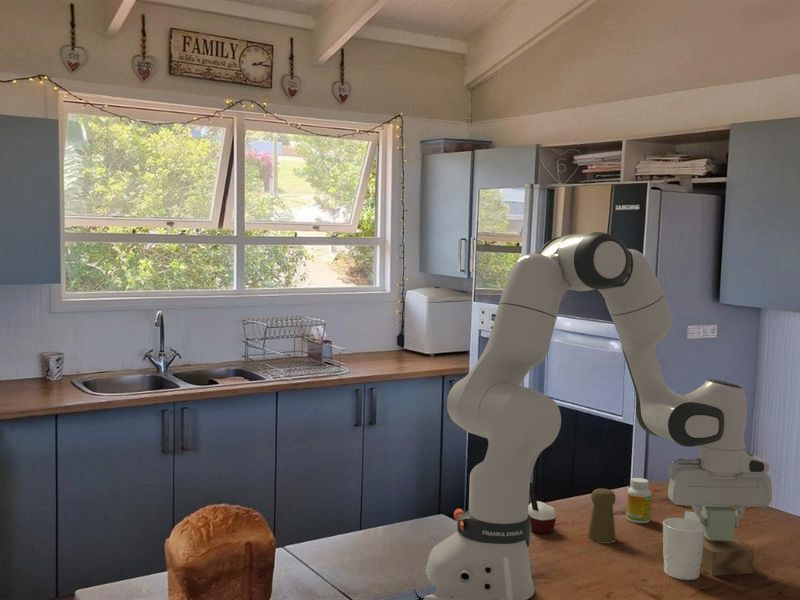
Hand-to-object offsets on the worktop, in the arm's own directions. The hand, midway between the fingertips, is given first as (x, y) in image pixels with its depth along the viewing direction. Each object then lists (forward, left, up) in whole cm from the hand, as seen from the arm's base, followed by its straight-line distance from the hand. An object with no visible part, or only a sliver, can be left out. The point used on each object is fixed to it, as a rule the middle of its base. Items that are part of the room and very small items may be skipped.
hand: (717, 526), depth 166 cm
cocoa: (-33, +18, -8) cm, 38 cm away
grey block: (+3, +14, -8) cm, 17 cm away
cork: (-20, +14, -8) cm, 26 cm away
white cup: (-9, -5, -8) cm, 13 cm away
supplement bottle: (-8, +27, -8) cm, 29 cm away
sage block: (0, 0, -2) cm, 2 cm away
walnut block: (+1, 0, -8) cm, 8 cm away
